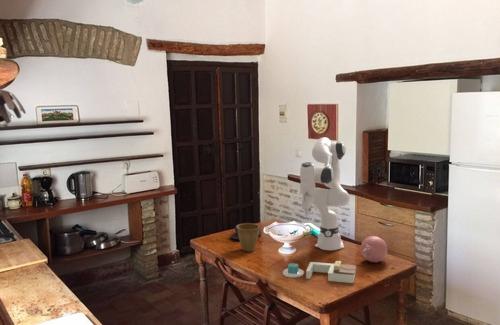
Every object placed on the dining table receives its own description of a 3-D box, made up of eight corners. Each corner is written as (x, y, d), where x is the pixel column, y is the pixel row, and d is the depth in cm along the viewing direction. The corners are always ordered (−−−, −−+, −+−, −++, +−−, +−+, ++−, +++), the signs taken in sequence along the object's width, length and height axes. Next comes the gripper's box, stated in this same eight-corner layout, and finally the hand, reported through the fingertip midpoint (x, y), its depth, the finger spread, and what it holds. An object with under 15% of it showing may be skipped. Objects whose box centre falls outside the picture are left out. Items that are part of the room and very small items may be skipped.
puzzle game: (273, 230, 338) (287, 242, 310) (273, 227, 338) (287, 238, 309) (310, 226, 346) (327, 237, 317) (310, 222, 346) (327, 233, 317)
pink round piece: (351, 263, 266) (351, 238, 264) (370, 255, 280) (370, 231, 277) (373, 270, 255) (373, 244, 253) (392, 261, 268) (392, 236, 266)
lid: (335, 265, 252) (335, 259, 252) (355, 267, 249) (355, 261, 248) (333, 272, 242) (333, 267, 241) (354, 274, 238) (354, 268, 238)
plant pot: (247, 255, 287) (246, 231, 284) (233, 249, 298) (232, 226, 296) (264, 249, 296) (264, 226, 293) (250, 244, 307) (249, 221, 305)
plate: (285, 268, 262) (285, 267, 262) (305, 270, 258) (305, 268, 258) (280, 276, 251) (280, 275, 251) (301, 278, 247) (301, 276, 247)
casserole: (252, 230, 339) (252, 219, 338) (267, 236, 325) (267, 224, 323) (225, 237, 325) (224, 226, 323) (239, 243, 310) (239, 232, 309)
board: (310, 269, 260) (310, 261, 259) (355, 273, 252) (355, 265, 252) (306, 278, 247) (306, 270, 246) (353, 283, 239) (353, 275, 238)
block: (289, 269, 258) (289, 263, 257) (298, 270, 256) (298, 263, 256) (288, 273, 253) (287, 266, 252) (296, 273, 251) (296, 267, 251)
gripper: (310, 194, 251) (310, 218, 253) (315, 187, 271) (316, 209, 273) (299, 193, 253) (299, 217, 255) (305, 186, 273) (306, 208, 275)
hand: (308, 213), depth 264 cm, fingers open, 8 cm apart
